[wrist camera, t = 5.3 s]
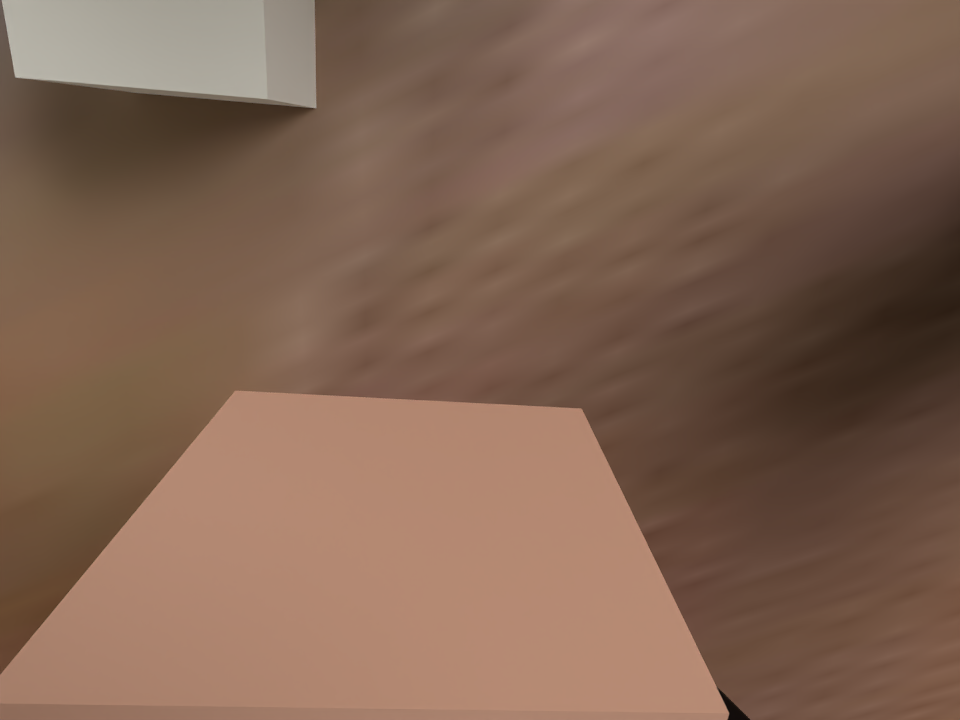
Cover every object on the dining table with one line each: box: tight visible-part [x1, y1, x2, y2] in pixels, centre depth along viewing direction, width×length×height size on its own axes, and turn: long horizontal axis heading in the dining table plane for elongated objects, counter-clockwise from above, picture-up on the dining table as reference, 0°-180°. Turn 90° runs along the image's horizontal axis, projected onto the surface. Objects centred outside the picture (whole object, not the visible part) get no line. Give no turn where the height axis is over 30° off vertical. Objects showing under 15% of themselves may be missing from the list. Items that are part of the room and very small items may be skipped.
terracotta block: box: [0, 391, 729, 720], centre depth 7 cm, size 5×5×5 cm
